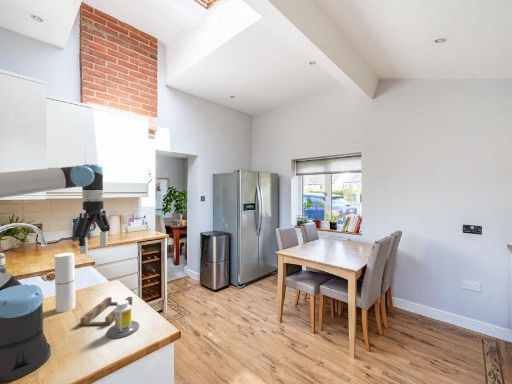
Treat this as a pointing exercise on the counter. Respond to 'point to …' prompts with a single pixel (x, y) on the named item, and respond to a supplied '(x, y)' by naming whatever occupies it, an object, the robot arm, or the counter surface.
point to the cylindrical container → (64, 282)
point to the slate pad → (115, 334)
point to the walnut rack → (98, 309)
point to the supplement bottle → (122, 316)
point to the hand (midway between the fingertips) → (94, 249)
